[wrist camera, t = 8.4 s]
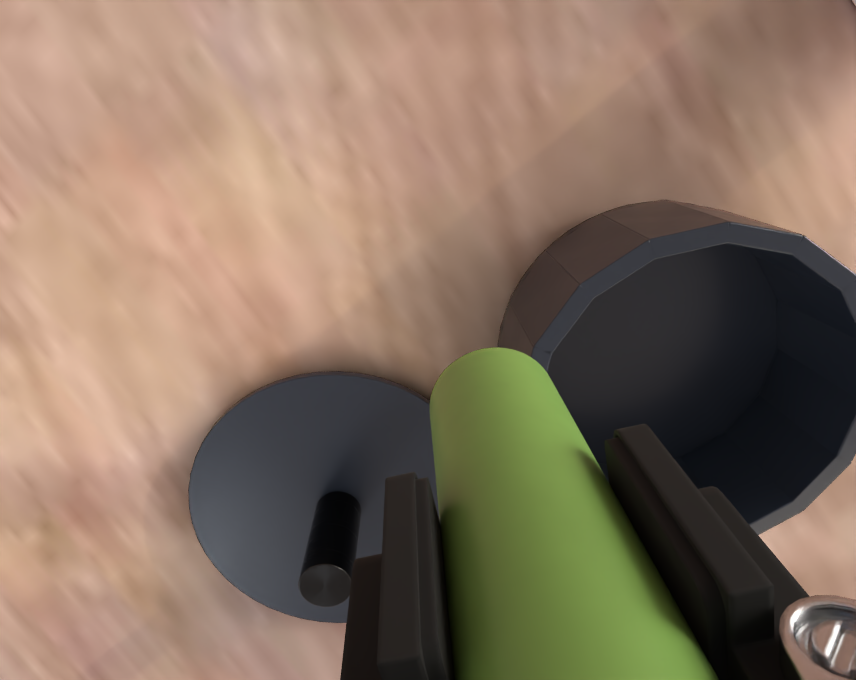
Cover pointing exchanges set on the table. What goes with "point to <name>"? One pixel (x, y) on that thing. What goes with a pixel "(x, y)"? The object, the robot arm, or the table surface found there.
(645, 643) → the green cylinder
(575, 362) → the pot
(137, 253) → the table surface
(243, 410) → the pot lid
